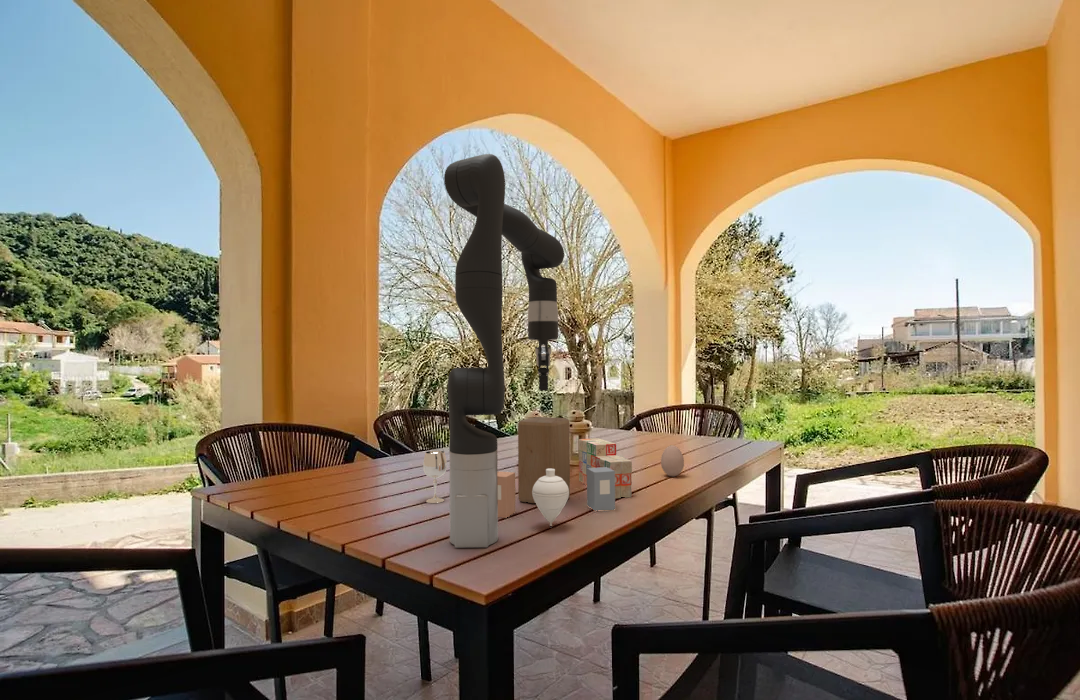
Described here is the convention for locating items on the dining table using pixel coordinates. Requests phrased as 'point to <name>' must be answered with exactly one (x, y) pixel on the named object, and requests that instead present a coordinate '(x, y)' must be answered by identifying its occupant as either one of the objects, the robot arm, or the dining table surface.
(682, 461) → the egg
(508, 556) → the dining table surface
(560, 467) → the wooden block
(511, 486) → the terracotta painted block
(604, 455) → the stack of blocks
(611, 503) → the slate painted block
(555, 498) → the spinning top
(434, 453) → the wineglass
